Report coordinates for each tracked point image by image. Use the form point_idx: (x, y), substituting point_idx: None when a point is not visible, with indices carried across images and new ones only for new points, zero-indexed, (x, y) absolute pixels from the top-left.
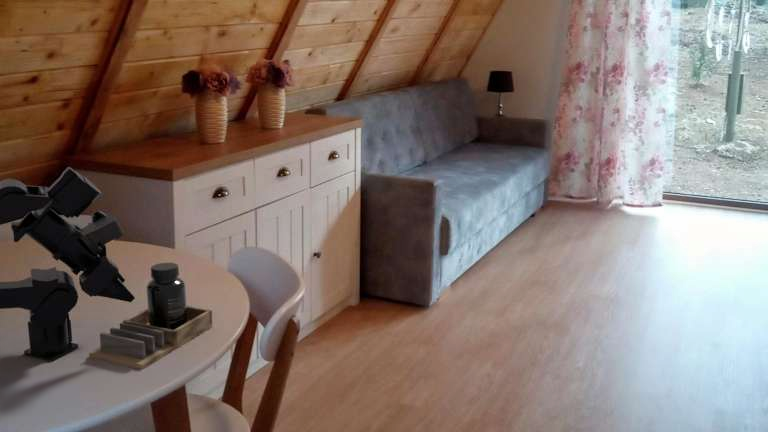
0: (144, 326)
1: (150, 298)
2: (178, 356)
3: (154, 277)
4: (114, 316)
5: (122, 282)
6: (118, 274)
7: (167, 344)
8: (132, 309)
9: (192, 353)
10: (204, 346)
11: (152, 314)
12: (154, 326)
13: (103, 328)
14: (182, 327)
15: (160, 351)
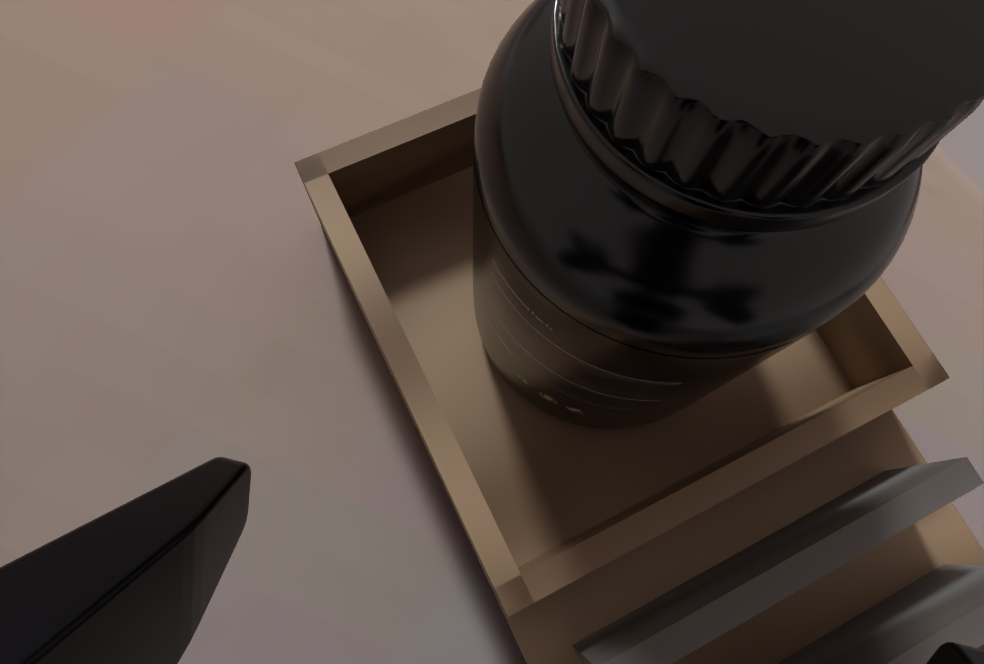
0: (704, 507)
1: (723, 372)
2: (977, 437)
3: (839, 212)
4: (58, 481)
5: (245, 502)
6: (180, 554)
7: (848, 433)
8: (33, 318)
9: (972, 349)
10: (907, 247)
11: (684, 402)
12: (771, 450)
13: (219, 652)
14: (887, 291)
15: (940, 525)
